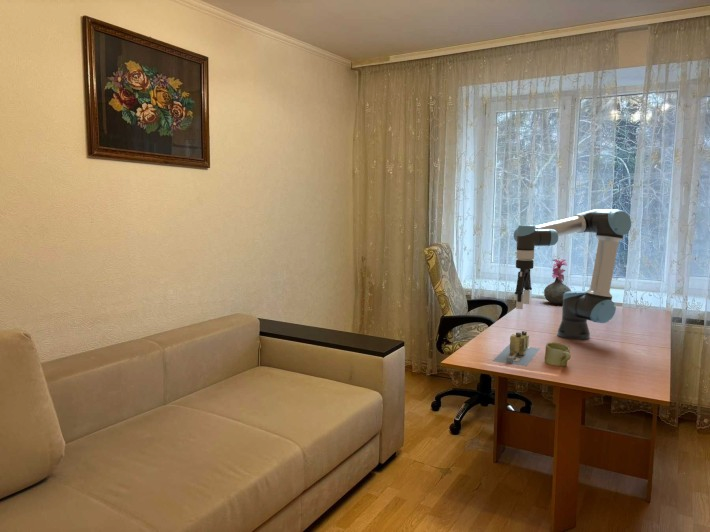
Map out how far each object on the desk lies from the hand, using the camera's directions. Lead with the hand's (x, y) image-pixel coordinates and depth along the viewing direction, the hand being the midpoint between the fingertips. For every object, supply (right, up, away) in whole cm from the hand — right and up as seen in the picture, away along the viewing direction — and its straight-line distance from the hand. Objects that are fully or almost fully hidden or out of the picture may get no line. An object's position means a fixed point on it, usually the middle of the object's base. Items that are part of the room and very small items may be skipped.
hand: (522, 306), depth 237 cm
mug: (+9, -23, -19) cm, 31 cm away
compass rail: (-4, -22, -6) cm, 23 cm away
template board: (-4, -22, -6) cm, 23 cm away
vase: (+59, -7, +114) cm, 129 cm away
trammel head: (-4, -21, -5) cm, 22 cm away
